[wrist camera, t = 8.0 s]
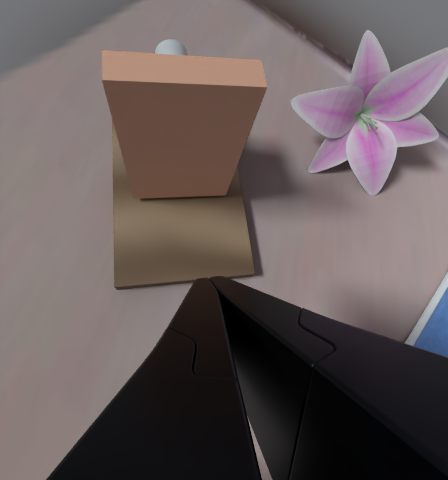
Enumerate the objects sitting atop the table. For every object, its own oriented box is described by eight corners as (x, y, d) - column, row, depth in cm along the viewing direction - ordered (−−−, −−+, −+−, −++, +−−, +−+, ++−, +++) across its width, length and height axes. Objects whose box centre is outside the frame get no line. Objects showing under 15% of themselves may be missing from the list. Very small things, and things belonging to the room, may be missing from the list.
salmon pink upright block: (225, 195, 23) (267, 87, 13) (133, 198, 21) (102, 79, 12) (211, 93, 26) (235, -57, 16) (129, 89, 24) (102, -77, 15)
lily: (254, 132, 29) (292, 108, 19) (334, 40, 28) (413, -30, 19) (331, 212, 32) (396, 224, 22) (405, 130, 31) (503, 108, 22)
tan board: (251, 276, 23) (254, 273, 22) (117, 289, 21) (114, 287, 20) (227, 128, 27) (230, 120, 26) (114, 126, 25) (112, 118, 24)
